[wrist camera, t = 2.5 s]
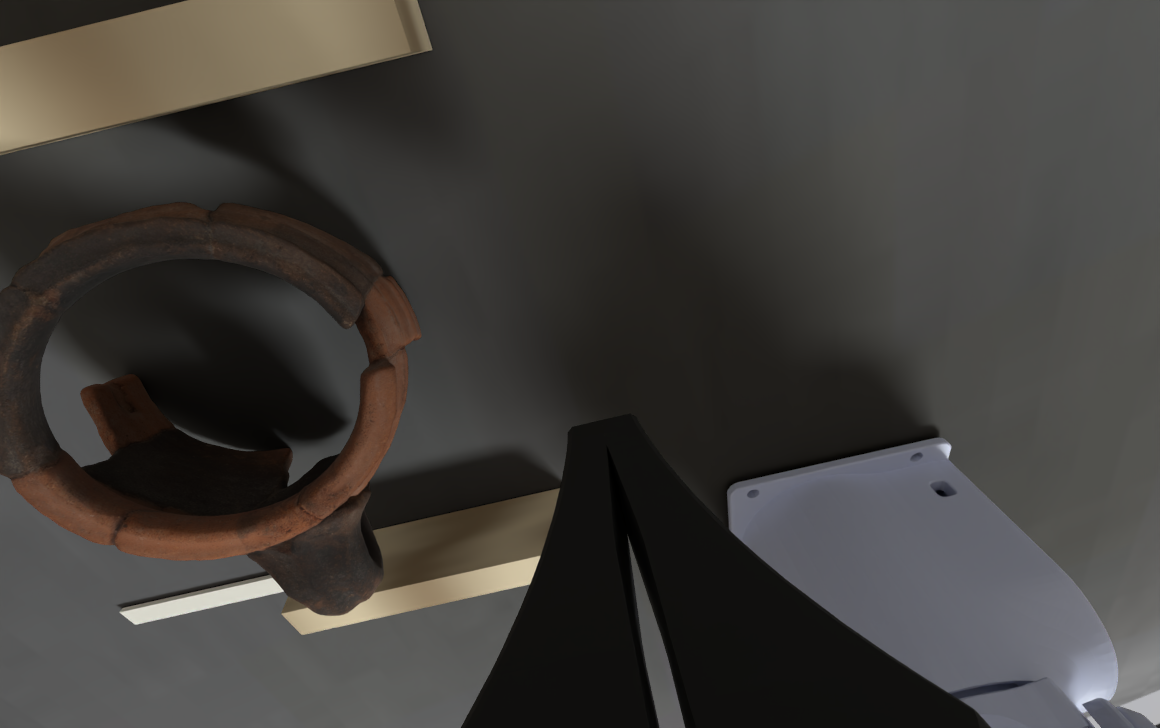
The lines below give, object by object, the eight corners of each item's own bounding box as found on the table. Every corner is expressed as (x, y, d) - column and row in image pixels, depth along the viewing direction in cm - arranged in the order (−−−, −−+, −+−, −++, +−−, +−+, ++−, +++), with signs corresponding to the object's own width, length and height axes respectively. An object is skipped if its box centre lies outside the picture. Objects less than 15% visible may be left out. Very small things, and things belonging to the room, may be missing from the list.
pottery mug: (22, 311, 15) (-307, 318, 8) (325, 183, 18) (305, 95, 10) (271, 598, 19) (215, 796, 11) (490, 453, 21) (563, 532, 14)
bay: (-87, 49, 11) (-96, 49, 11) (334, 576, 22) (333, 580, 22) (-470, 144, 11) (-484, 145, 11) (138, 620, 22) (135, 624, 22)
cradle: (408, -28, 11) (378, -47, 9) (575, 510, 21) (583, 572, 19) (-58, 87, 11) (-217, 100, 9) (326, 566, 22) (302, 634, 19)
